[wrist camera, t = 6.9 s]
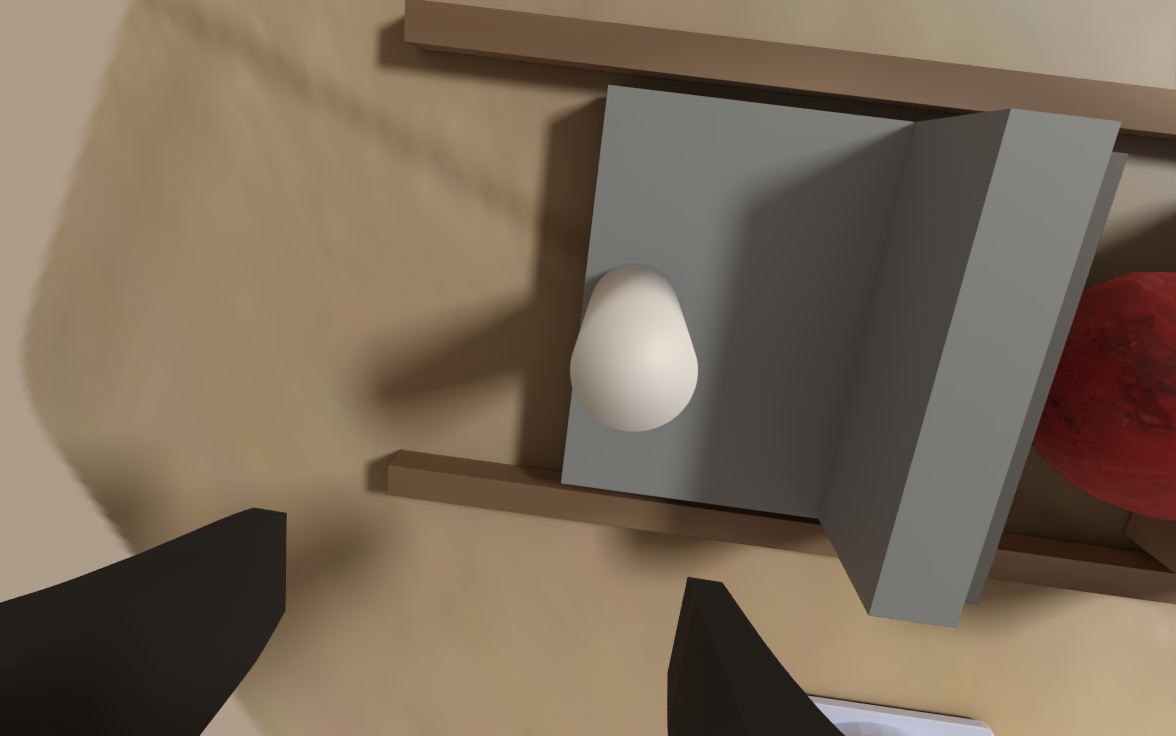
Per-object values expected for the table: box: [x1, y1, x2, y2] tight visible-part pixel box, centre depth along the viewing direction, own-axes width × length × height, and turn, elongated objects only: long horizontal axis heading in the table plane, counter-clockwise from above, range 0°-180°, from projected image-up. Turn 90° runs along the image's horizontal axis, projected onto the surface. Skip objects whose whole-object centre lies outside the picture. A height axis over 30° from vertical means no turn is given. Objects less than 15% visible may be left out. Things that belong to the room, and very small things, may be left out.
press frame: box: [387, 0, 1176, 604], centre depth 17 cm, size 14×26×7 cm, turn 83°
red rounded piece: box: [1032, 272, 1176, 520], centre depth 16 cm, size 6×6×8 cm
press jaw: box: [561, 85, 1128, 628], centre depth 16 cm, size 11×10×8 cm
